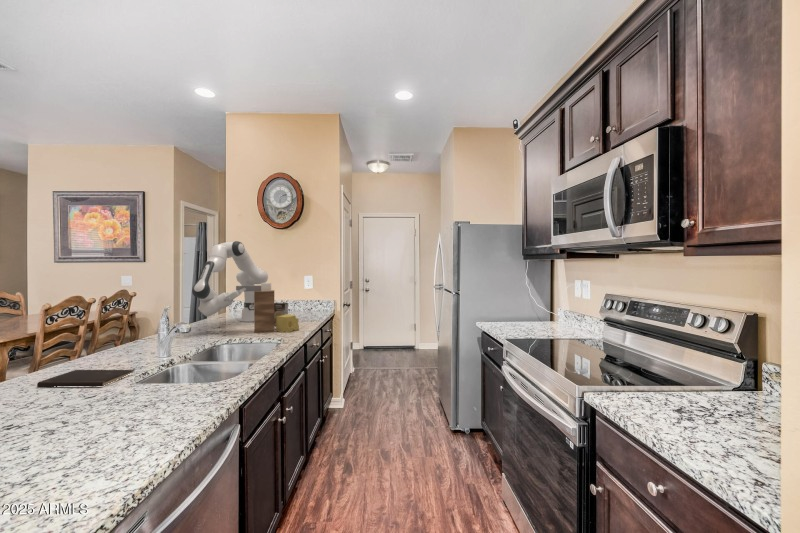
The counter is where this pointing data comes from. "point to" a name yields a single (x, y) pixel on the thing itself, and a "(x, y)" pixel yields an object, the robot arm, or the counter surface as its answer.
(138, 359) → the counter surface
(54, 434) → the counter surface
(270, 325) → the stand
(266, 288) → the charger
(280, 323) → the cheese
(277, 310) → the coffee box
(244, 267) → the robot arm
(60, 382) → the hardcover book
